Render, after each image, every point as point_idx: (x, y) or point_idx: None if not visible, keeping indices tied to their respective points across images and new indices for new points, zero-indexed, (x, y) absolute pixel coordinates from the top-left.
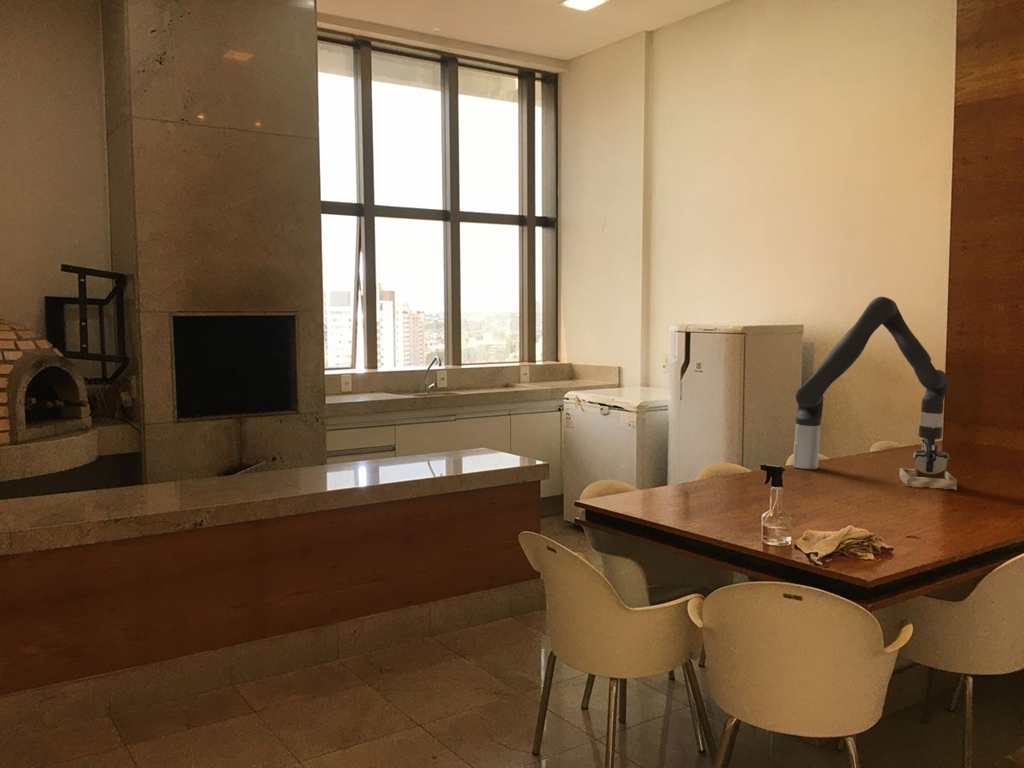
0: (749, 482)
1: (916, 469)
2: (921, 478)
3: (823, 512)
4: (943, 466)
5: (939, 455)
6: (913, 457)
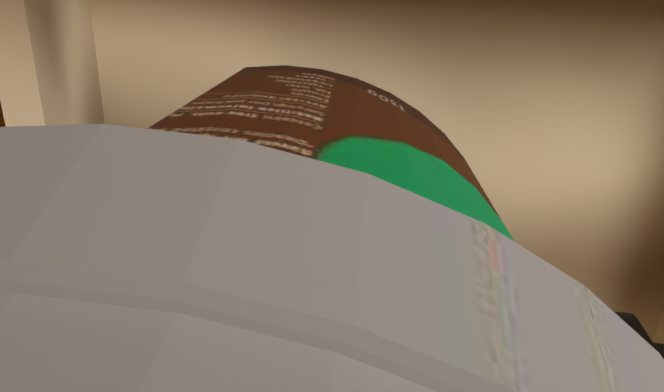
0: None
1: (193, 107)
2: (10, 105)
3: None
4: None
5: None
6: (76, 127)
